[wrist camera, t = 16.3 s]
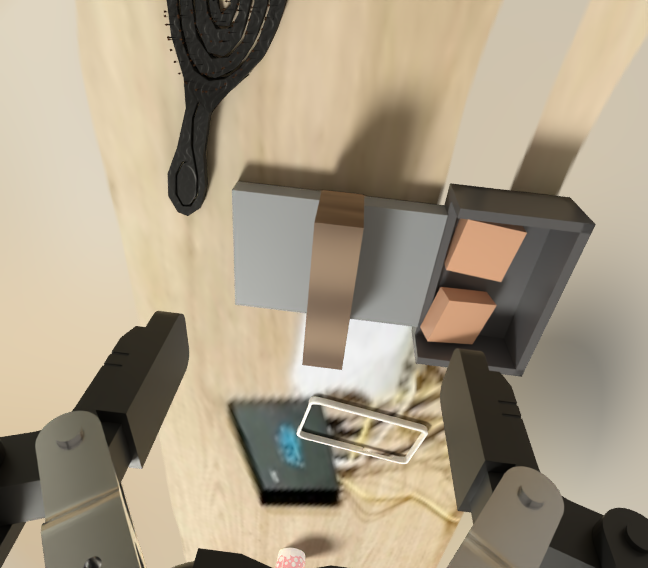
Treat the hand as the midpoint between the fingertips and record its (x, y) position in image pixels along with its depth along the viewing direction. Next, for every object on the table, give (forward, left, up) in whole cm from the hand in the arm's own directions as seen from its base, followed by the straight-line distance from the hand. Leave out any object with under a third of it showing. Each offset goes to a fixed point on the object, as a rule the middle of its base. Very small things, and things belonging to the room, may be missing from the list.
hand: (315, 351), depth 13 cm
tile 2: (+16, +12, -25) cm, 32 cm away
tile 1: (+9, +13, -26) cm, 30 cm away
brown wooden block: (+12, 0, -24) cm, 27 cm away
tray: (+12, +14, -26) cm, 32 cm away
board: (+12, 0, -26) cm, 29 cm away
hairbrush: (-3, -11, -27) cm, 29 cm away
